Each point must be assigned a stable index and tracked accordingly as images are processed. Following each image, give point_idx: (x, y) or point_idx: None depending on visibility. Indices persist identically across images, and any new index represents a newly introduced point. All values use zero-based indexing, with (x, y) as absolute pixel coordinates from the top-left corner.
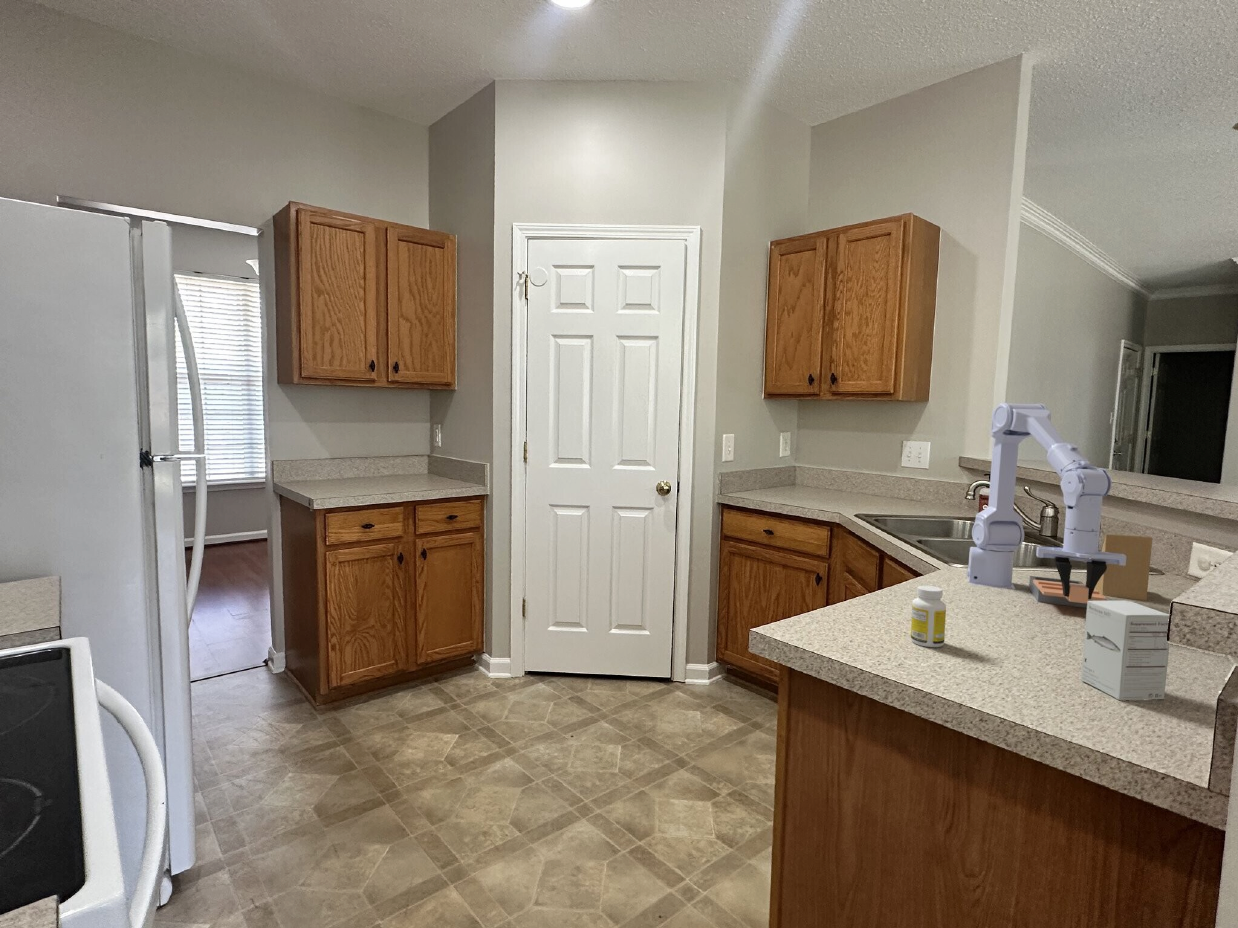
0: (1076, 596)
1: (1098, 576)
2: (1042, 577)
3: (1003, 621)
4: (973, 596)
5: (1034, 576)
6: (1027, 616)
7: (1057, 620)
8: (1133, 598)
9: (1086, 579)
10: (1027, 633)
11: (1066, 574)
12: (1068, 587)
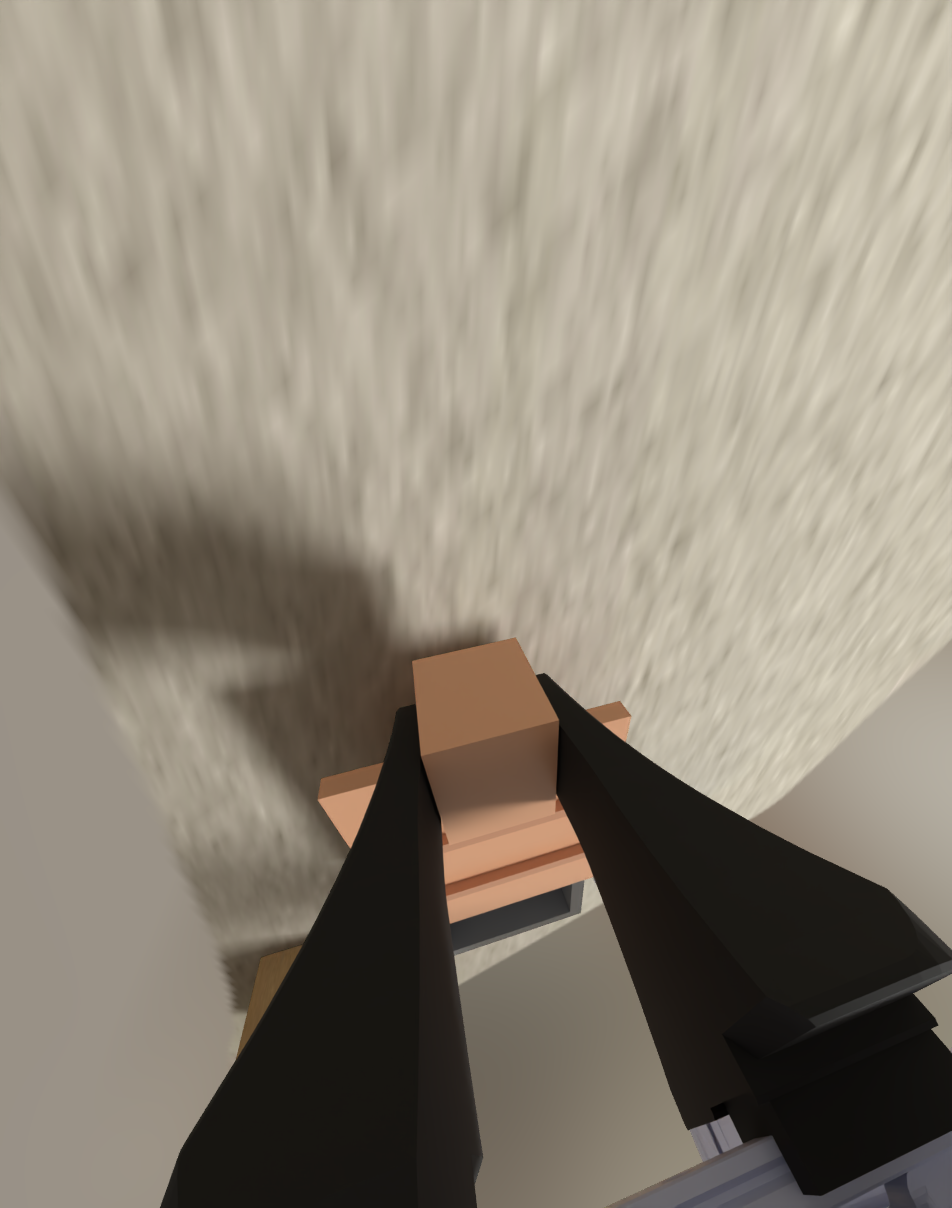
0: (488, 673)
1: (331, 938)
2: (546, 921)
3: (793, 354)
4: (744, 701)
5: (568, 915)
6: (640, 553)
7: (524, 573)
8: (291, 959)
9: (444, 889)
10: (772, 43)
11: (668, 812)
12: (563, 716)
